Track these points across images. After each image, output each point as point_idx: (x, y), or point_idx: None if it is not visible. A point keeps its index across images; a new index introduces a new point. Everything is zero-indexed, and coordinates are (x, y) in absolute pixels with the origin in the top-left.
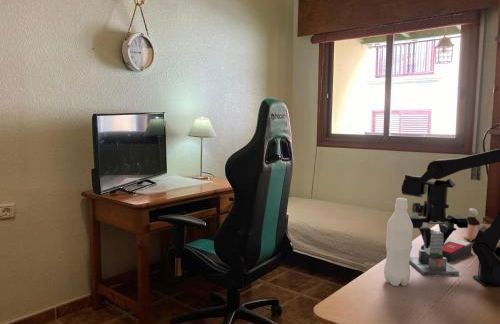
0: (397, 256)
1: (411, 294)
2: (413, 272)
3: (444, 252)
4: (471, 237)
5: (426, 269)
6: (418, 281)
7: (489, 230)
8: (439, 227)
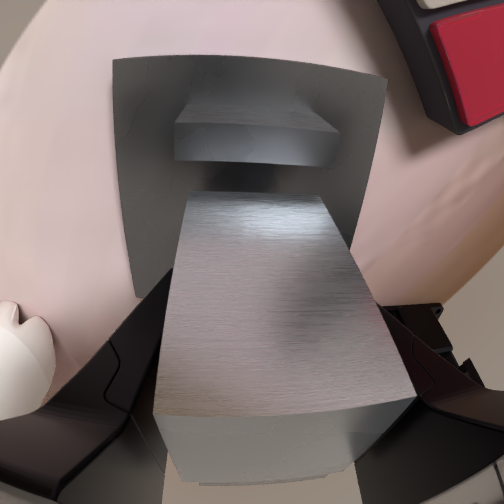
0: None
1: (66, 382)
2: (99, 246)
3: (447, 80)
4: None
5: (162, 273)
6: (100, 326)
7: None
8: (455, 428)
